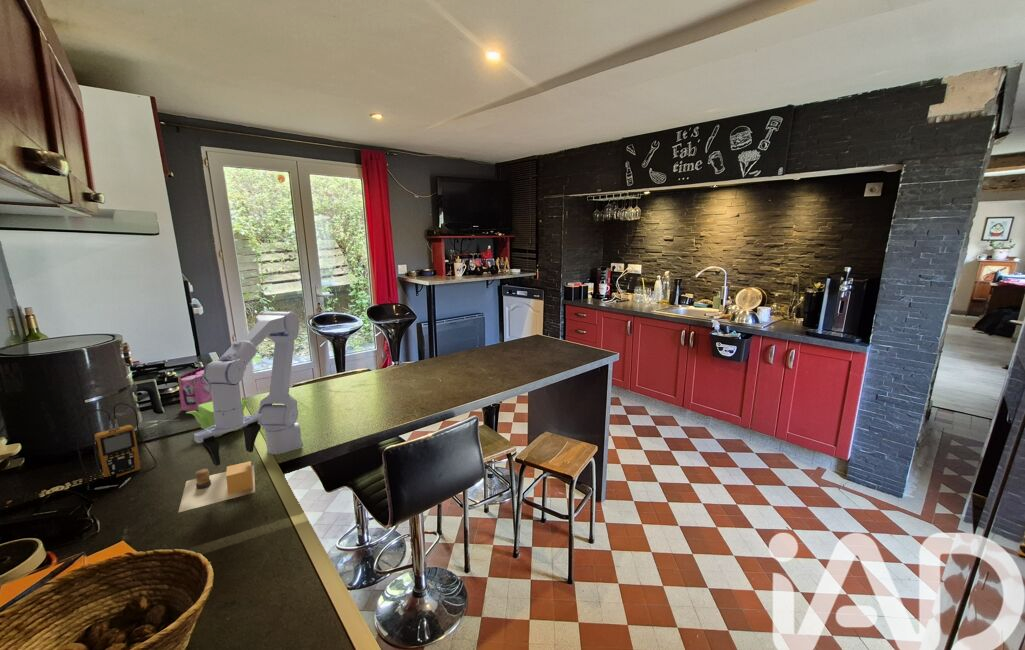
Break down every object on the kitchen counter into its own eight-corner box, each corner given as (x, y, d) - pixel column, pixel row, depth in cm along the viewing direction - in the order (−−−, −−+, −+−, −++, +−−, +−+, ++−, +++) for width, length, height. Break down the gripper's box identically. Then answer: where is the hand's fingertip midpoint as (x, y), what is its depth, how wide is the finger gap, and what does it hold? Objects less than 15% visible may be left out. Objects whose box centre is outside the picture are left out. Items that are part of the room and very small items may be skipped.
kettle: (238, 438, 130) (234, 406, 128) (187, 443, 126) (183, 410, 124) (255, 419, 144) (251, 390, 142) (210, 423, 140) (206, 393, 138)
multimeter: (93, 498, 98) (79, 423, 94) (82, 485, 103) (68, 413, 99) (168, 471, 110) (158, 404, 106) (154, 461, 115) (144, 396, 112)
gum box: (200, 412, 150) (195, 378, 147) (178, 412, 149) (173, 378, 146) (237, 390, 173) (234, 360, 170) (218, 390, 172) (215, 360, 170)
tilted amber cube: (252, 478, 105) (250, 461, 104) (253, 487, 101) (251, 470, 100) (229, 483, 102) (226, 466, 101) (228, 494, 98) (226, 476, 97)
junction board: (254, 469, 112) (252, 452, 111) (255, 497, 100) (253, 477, 98) (187, 486, 104) (184, 467, 103) (179, 518, 91) (175, 497, 90)
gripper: (250, 395, 106) (255, 441, 109) (185, 413, 94) (192, 465, 96) (264, 400, 103) (269, 448, 105) (199, 420, 90) (206, 474, 93)
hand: (233, 457), depth 100 cm, fingers open, 7 cm apart
